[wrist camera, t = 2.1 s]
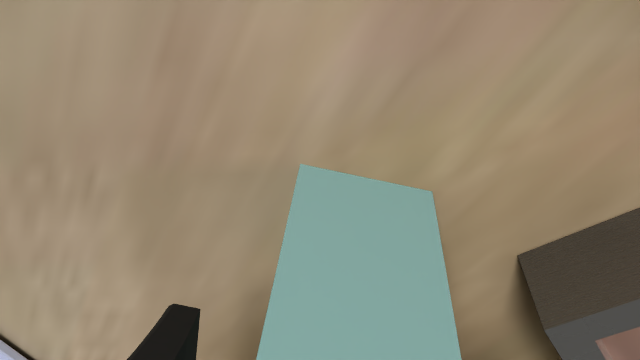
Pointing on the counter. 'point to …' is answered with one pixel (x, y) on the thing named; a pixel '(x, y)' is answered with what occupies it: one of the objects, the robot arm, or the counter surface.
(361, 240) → the peg
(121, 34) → the counter surface
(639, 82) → the counter surface
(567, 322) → the socket
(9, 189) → the counter surface
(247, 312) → the counter surface
